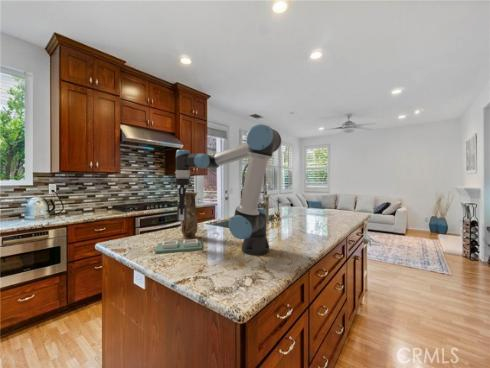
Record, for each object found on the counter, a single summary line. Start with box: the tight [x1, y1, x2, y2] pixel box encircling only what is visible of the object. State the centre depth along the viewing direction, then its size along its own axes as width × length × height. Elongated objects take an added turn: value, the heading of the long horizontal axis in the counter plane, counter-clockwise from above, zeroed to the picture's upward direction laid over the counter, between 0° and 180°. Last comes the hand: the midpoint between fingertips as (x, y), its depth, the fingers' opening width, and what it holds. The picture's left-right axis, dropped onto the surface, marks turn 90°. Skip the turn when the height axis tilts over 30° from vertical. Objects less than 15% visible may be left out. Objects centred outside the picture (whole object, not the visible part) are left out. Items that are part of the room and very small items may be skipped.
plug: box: [176, 202, 187, 222], centre depth 130 cm, size 5×4×9 cm
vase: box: [180, 191, 199, 240], centre depth 150 cm, size 10×11×30 cm
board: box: [154, 238, 203, 254], centre depth 129 cm, size 24×14×3 cm, turn 105°
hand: (181, 219), depth 130 cm, fingers closed on plug, 4 cm apart
